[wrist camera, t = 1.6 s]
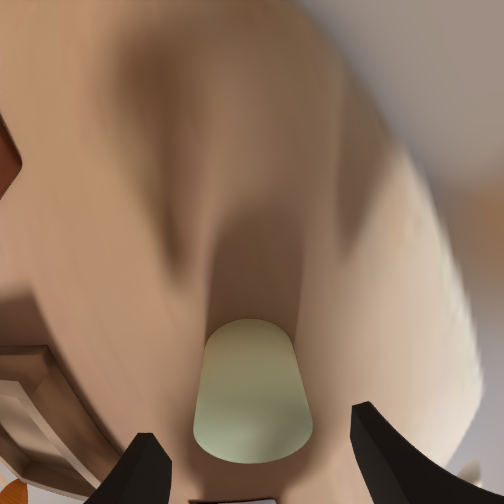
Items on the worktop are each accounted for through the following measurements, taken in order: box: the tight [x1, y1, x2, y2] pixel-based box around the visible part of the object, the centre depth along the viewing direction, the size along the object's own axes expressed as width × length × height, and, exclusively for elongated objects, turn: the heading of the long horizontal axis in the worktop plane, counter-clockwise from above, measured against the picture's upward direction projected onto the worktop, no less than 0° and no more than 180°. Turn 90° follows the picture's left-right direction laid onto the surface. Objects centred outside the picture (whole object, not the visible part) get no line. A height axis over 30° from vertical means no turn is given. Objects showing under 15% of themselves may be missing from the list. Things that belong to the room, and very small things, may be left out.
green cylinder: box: [193, 319, 313, 464], centre depth 12 cm, size 4×4×5 cm
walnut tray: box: [0, 345, 121, 501], centre depth 15 cm, size 14×13×4 cm
